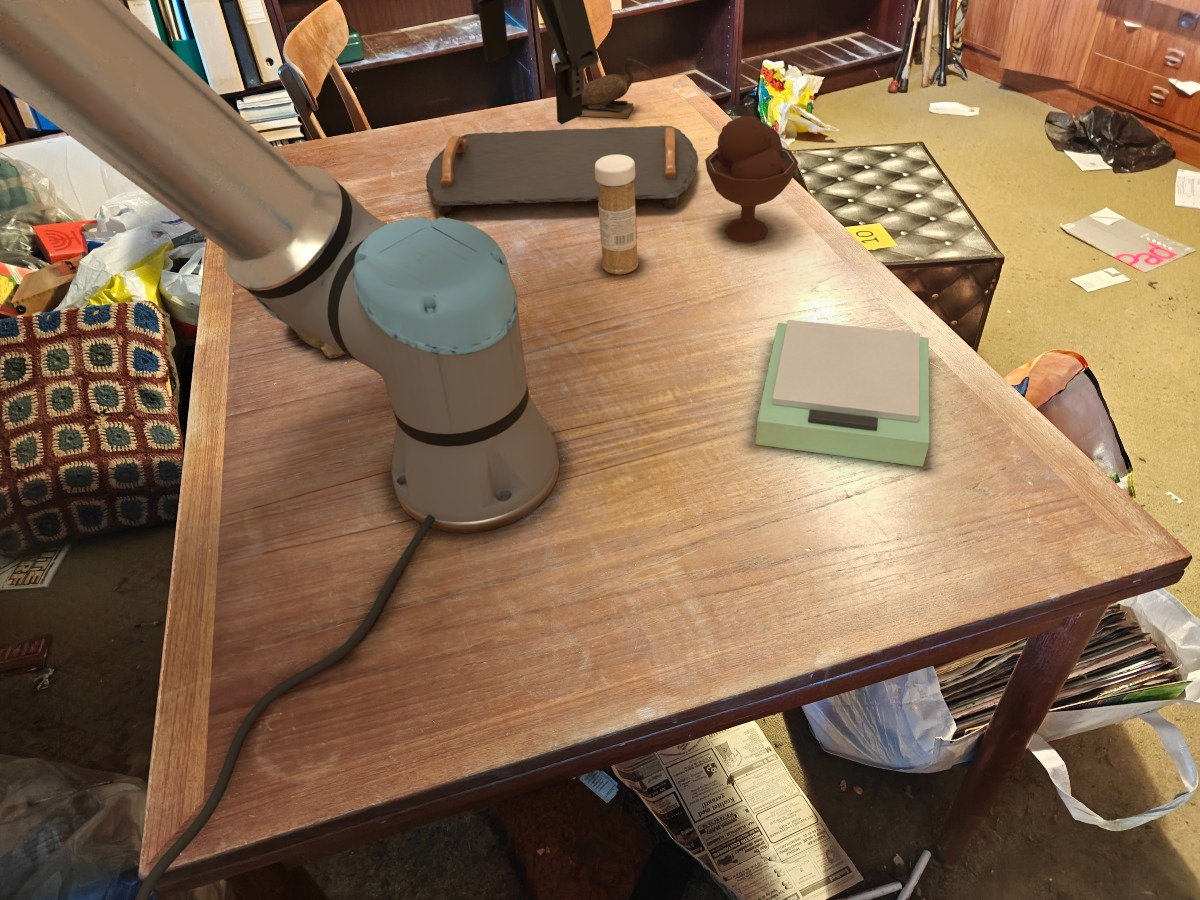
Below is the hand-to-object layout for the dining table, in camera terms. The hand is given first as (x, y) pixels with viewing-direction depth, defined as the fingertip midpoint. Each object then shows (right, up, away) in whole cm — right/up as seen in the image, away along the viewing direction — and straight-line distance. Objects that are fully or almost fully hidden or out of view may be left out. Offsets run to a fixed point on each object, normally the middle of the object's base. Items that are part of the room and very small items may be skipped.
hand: (532, 87), depth 92 cm
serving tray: (+2, 0, +31) cm, 32 cm away
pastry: (-23, -25, +7) cm, 35 cm away
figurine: (+10, +16, +49) cm, 52 cm away
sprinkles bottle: (+10, -17, +13) cm, 23 cm away
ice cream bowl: (+26, -11, +17) cm, 33 cm away
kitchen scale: (+31, -34, -8) cm, 47 cm away
